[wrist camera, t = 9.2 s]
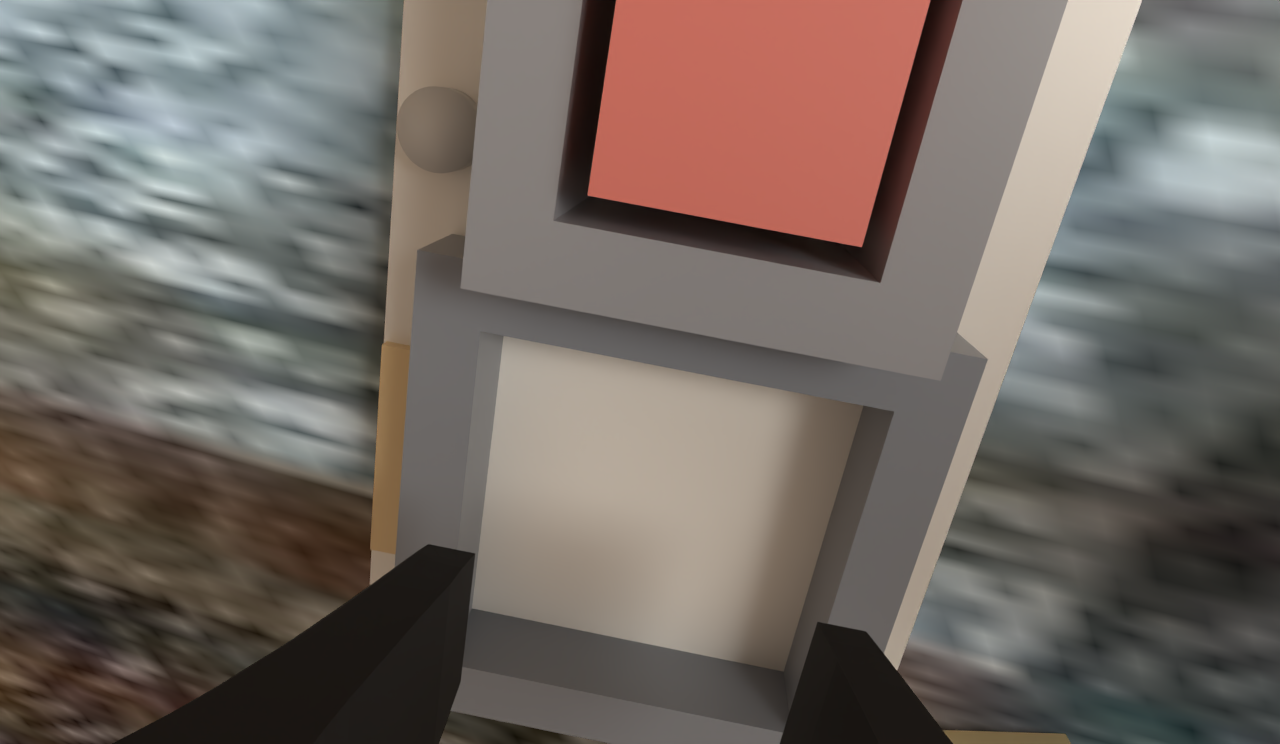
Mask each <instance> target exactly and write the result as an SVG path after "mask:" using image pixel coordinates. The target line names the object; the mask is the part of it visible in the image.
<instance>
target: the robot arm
mask: <svg viewBox="0 0 1280 744" xmlns="http://www.w3.org/2000/svg"><path fill="white" fill-rule="evenodd" d="M474 561H475V553H471V552H466V551H461V550H456V549H451V548H446V547H441V546H436V545H431V544H428V545H426V546H424V547H423V548H421V549H420V550H418V551H417V552H415V553H414V554H412V555H411V556H410V557H408V558H407V559H405V560H404V561H403V562H401V563H400V564H399V565H397V566H396V567H395V568H393V569H392V570H390V571H389V572H388V573H386V574H385V575H384V576H382V577H381V578H380V579H378V580H377V581H375V582H374V583H373V584H371V585H370V586H369V587H367V588H366V589H364V590H363V591H362V592H360V593H359V594H357V595H356V596H355V597H353V598H352V599H350V600H349V601H348V602H346V603H345V604H343V605H342V606H340V607H339V608H337V609H336V610H335V611H333V612H332V613H330V614H329V615H327V616H326V617H324V618H323V619H321V620H320V621H318V622H317V623H316V624H314V625H313V626H311V627H310V628H308V629H307V630H305V631H304V632H302V633H301V634H299V635H298V636H297V637H295V638H294V639H292V640H291V641H289V642H287V643H286V644H284V645H283V646H281V647H280V648H278V649H277V650H275V651H273V652H272V653H270V654H269V655H267V656H265V657H264V658H262V659H260V660H259V661H257V662H256V663H254V664H252V665H251V666H249V667H248V668H246V669H244V670H243V671H241V672H239V673H238V674H236V675H235V676H233V677H231V678H230V679H228V680H227V681H225V682H223V683H222V684H220V685H219V686H217V687H215V688H214V689H212V690H210V691H208V692H207V693H205V694H203V695H202V696H200V697H198V698H196V699H195V700H193V701H191V702H189V703H188V704H186V705H184V706H182V707H181V708H179V709H177V710H175V711H174V712H172V713H170V714H168V715H166V716H164V717H163V718H161V719H159V720H157V721H155V722H153V723H151V724H149V725H147V726H145V727H144V728H142V729H140V730H138V731H136V732H134V733H132V734H130V735H128V736H126V737H124V738H122V739H121V740H119V741H117V742H115V743H113V744H439V741H440V738H441V736H442V733H443V730H444V728H445V725H446V722H447V719H448V716H449V714H450V711H451V708H452V705H453V702H454V699H455V697H456V694H457V691H458V688H459V685H460V682H461V674H462V666H463V657H464V648H465V640H466V631H467V622H468V613H469V605H470V596H471V587H472V579H473V570H474ZM780 744H953V743H952V742H951V740H950V739H949V738H948V737H947V735H946V734H945V733H944V731H943V730H942V729H941V728H940V726H939V725H938V724H937V722H936V721H935V720H934V719H933V717H932V716H931V715H930V713H929V712H928V711H927V709H926V708H925V707H924V706H923V704H922V703H921V702H920V700H919V699H918V698H917V696H916V695H915V694H914V693H913V691H912V690H911V689H910V687H909V686H908V685H907V683H906V682H905V681H904V679H903V678H902V677H901V675H900V674H899V673H898V671H897V670H896V669H895V668H894V666H893V665H892V664H891V662H890V661H889V660H888V658H887V657H886V656H885V654H884V653H883V652H882V651H881V649H880V648H879V647H878V645H877V644H876V643H875V642H874V640H873V639H872V638H871V637H870V635H869V634H868V633H867V632H866V631H862V630H857V629H852V628H847V627H842V626H837V625H832V624H827V623H822V622H817V625H816V628H815V631H814V635H813V638H812V641H811V644H810V647H809V651H808V654H807V657H806V660H805V663H804V667H803V670H802V673H801V676H800V680H799V683H798V686H797V689H796V692H795V696H794V699H793V702H792V705H791V709H790V712H789V715H788V718H787V721H786V725H785V728H784V731H783V734H782V738H781V741H780Z"/></svg>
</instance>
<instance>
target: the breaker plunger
mask: <svg viewBox="0 0 1280 744" xmlns="http://www.w3.org/2000/svg"><path fill="white" fill-rule="evenodd" d="M929 4H930V0H616V4H615V11H614V18H613V25H612V32H611V39H610V45H609V52H608V59H607V66H606V73H605V79H604V86H603V93H602V100H601V107H600V113H599V120H598V127H597V134H596V141H595V148H594V154H593V161H592V168H591V175H590V182H589V188H588V195H587V196H593V197H598V198H603V199H609V200H614V201H619V202H624V203H630V204H635V205H640V206H646V207H651V208H656V209H662V210H667V211H672V212H677V213H683V214H688V215H693V216H699V217H704V218H709V219H715V220H720V221H725V222H730V223H736V224H741V225H746V226H752V227H757V228H762V229H767V230H773V231H778V232H783V233H789V234H794V235H799V236H805V237H810V238H815V239H820V240H826V241H831V242H836V243H842V244H847V245H852V246H858V247H862V245H863V242H864V238H865V235H866V231H867V227H868V224H869V220H870V217H871V213H872V209H873V206H874V202H875V199H876V195H877V191H878V188H879V184H880V181H881V177H882V173H883V170H884V166H885V163H886V159H887V155H888V152H889V148H890V145H891V141H892V137H893V134H894V130H895V127H896V123H897V119H898V116H899V112H900V108H901V105H902V101H903V98H904V94H905V90H906V87H907V83H908V80H909V76H910V72H911V69H912V65H913V62H914V58H915V54H916V51H917V47H918V44H919V40H920V36H921V33H922V29H923V26H924V22H925V18H926V15H927V11H928V8H929Z"/></svg>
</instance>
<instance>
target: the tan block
mask: <svg viewBox="0 0 1280 744" xmlns="http://www.w3.org/2000/svg"><path fill="white" fill-rule="evenodd" d="M943 731H944V733H945V734H946V735H947V737H948V738H949V739H950V740H951V742H952V743H953V744H1071V743H1070V741H1069V739H1068V738H1067V736H1066V734H1056V733H1024V732H992V731H960V730H943Z"/></svg>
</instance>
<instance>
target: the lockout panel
mask: <svg viewBox="0 0 1280 744" xmlns="http://www.w3.org/2000/svg"><path fill="white" fill-rule="evenodd" d="M1141 2H1142V0H930V4H929V8H928V11H927V15H926V18H925V22H924V26H923V29H922V33H921V36H920V40H919V44H918V47H917V51H916V54H915V58H914V62H913V65H912V69H911V72H910V76H909V80H908V83H907V87H906V90H905V94H904V98H903V101H902V105H901V108H900V112H899V116H898V119H897V123H896V127H895V130H894V134H893V137H892V141H891V145H890V148H889V152H888V155H887V159H886V163H885V166H884V170H883V173H882V177H881V181H880V184H879V188H878V191H877V195H876V199H875V202H874V206H873V209H872V213H871V217H870V220H869V224H868V227H867V231H866V235H865V238H864V242H863V245H862V247H858V246H852V245H847V244H842V243H836V242H831V241H826V240H820V239H815V238H810V237H805V236H799V235H794V234H789V233H783V232H778V231H773V230H767V229H762V228H757V227H752V226H746V225H741V224H736V223H730V222H725V221H720V220H715V219H709V218H704V217H699V216H693V215H688V214H683V213H677V212H672V211H667V210H662V209H656V208H651V207H646V206H640V205H635V204H630V203H624V202H619V201H614V200H609V199H603V198H598V197H593V196H587V195H588V188H589V182H590V175H591V168H592V161H593V154H594V148H595V141H596V134H597V127H598V120H599V113H600V107H601V100H602V93H603V86H604V79H605V73H606V66H607V59H608V52H609V45H610V39H611V32H612V25H613V18H614V11H615V4H616V0H404V6H403V23H402V40H401V57H400V74H399V91H398V108H397V126H396V143H395V160H394V177H393V194H392V211H391V228H390V245H389V262H388V279H387V296H386V313H385V330H384V344H382V351H381V368H380V385H379V403H378V420H377V437H376V455H375V472H374V489H373V507H372V524H371V541H370V550H372V552H371V569H370V585H371V584H373V583H374V582H375V581H377V580H378V579H380V578H381V577H382V576H384V575H385V574H386V573H388V572H389V571H390V570H392V569H393V568H395V567H396V566H397V565H399V564H400V563H401V562H403V561H404V560H405V559H407V558H408V557H410V556H411V555H412V554H414V553H415V552H417V551H418V550H420V549H421V548H423V547H424V546H426V545H428V544H431V545H436V546H441V547H446V548H451V549H456V550H461V551H466V552H471V553H475V561H474V570H473V579H472V587H471V596H470V605H469V613H468V622H467V631H466V640H465V648H464V657H463V666H462V674H461V682H460V685H459V688H458V691H457V694H456V697H455V699H454V702H453V705H452V708H451V711H454V712H459V713H464V714H469V715H474V716H479V717H483V718H488V719H493V720H498V721H503V722H508V723H512V724H517V725H522V726H527V727H532V728H537V729H541V730H546V731H551V732H556V733H561V734H566V735H570V736H575V737H580V738H585V739H590V740H595V741H599V742H604V743H609V744H780V741H781V738H782V734H783V731H784V728H785V725H786V721H787V718H788V715H789V712H790V709H791V705H792V702H793V699H794V696H795V692H796V689H797V686H798V683H799V680H800V676H801V673H802V670H803V667H804V663H805V660H806V657H807V654H808V651H809V647H810V644H811V641H812V638H813V635H814V631H815V628H816V625H817V622H822V623H827V624H832V625H837V626H842V627H847V628H852V629H857V630H862V631H866V632H867V633H868V634H869V635H870V637H871V638H872V639H873V640H874V642H875V643H876V644H877V645H878V647H879V648H880V649H881V651H882V652H883V653H884V654H885V656H886V657H887V658H888V660H889V661H890V662H891V664H892V665H893V666H894V668H895V669H896V670H898V667H899V664H900V662H901V659H902V656H903V653H904V651H905V648H906V645H907V642H908V640H909V637H910V634H911V631H912V629H913V626H914V623H915V621H916V618H917V615H918V612H919V610H920V607H921V604H922V601H923V599H924V596H925V593H926V590H927V588H928V585H929V582H930V579H931V577H932V574H933V571H934V569H935V566H936V563H937V560H938V558H939V555H940V552H941V549H942V547H943V544H944V541H945V538H946V536H947V533H948V530H949V527H950V525H951V522H952V519H953V516H954V514H955V511H956V508H957V506H958V503H959V500H960V497H961V495H962V492H963V489H964V486H965V484H966V481H967V478H968V475H969V473H970V470H971V467H972V464H973V462H974V459H975V456H976V454H977V451H978V448H979V445H980V443H981V440H982V437H983V434H984V432H985V429H986V426H987V423H988V421H989V418H990V415H991V412H992V410H993V407H994V404H995V402H996V399H997V396H998V393H999V391H1000V388H1001V385H1002V382H1003V380H1004V377H1005V374H1006V371H1007V369H1008V366H1009V363H1010V360H1011V358H1012V355H1013V352H1014V350H1015V347H1016V344H1017V341H1018V339H1019V336H1020V333H1021V330H1022V328H1023V325H1024V322H1025V319H1026V317H1027V314H1028V311H1029V308H1030V306H1031V303H1032V300H1033V298H1034V295H1035V292H1036V289H1037V287H1038V284H1039V281H1040V278H1041V276H1042V273H1043V270H1044V267H1045V265H1046V262H1047V259H1048V256H1049V254H1050V251H1051V248H1052V245H1053V243H1054V240H1055V237H1056V235H1057V232H1058V229H1059V226H1060V224H1061V221H1062V218H1063V215H1064V213H1065V210H1066V207H1067V204H1068V202H1069V199H1070V196H1071V193H1072V191H1073V188H1074V185H1075V183H1076V180H1077V177H1078V174H1079V172H1080V169H1081V166H1082V163H1083V161H1084V158H1085V155H1086V152H1087V150H1088V147H1089V144H1090V141H1091V139H1092V136H1093V133H1094V131H1095V128H1096V125H1097V122H1098V120H1099V117H1100V114H1101V111H1102V109H1103V106H1104V103H1105V100H1106V98H1107V95H1108V92H1109V89H1110V87H1111V84H1112V81H1113V79H1114V76H1115V73H1116V70H1117V68H1118V65H1119V62H1120V59H1121V57H1122V54H1123V51H1124V48H1125V46H1126V43H1127V40H1128V37H1129V35H1130V32H1131V29H1132V26H1133V24H1134V21H1135V18H1136V16H1137V13H1138V10H1139V7H1140V5H1141Z"/></svg>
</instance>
